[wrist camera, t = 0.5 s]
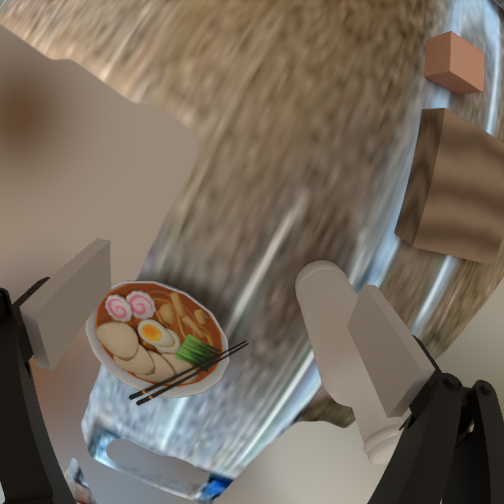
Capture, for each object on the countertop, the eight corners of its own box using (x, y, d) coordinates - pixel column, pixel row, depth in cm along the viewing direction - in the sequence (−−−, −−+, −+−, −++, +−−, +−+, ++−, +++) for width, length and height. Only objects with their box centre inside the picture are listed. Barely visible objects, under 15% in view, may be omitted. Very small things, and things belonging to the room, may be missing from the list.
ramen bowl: (174, 224, 41) (159, 244, 33) (265, 332, 48) (268, 366, 40) (77, 304, 46) (56, 330, 38) (160, 385, 53) (151, 415, 45)
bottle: (290, 263, 43) (346, 448, 15) (342, 254, 43) (447, 412, 15) (297, 308, 46) (341, 485, 18) (344, 299, 46) (422, 458, 18)
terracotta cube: (426, 40, 30) (450, 30, 23) (458, 59, 31) (484, 53, 24) (423, 76, 32) (449, 71, 26) (455, 94, 33) (483, 92, 27)
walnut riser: (422, 109, 34) (445, 108, 29) (499, 152, 36) (521, 156, 30) (394, 232, 42) (412, 246, 36) (473, 252, 43) (492, 265, 38)
